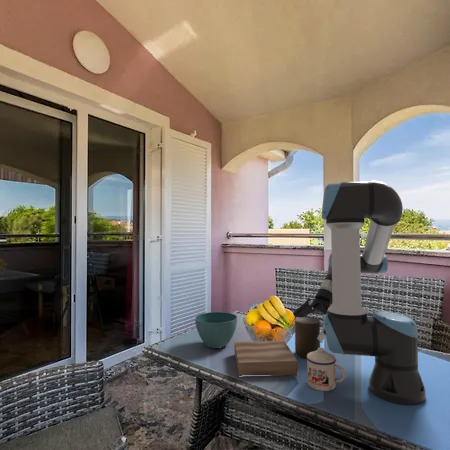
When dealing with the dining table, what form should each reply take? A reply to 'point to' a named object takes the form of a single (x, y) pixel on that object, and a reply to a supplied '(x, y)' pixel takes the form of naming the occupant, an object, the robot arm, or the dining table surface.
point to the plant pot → (216, 328)
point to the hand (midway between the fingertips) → (305, 336)
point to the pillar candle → (306, 336)
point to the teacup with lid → (322, 370)
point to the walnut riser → (264, 358)
